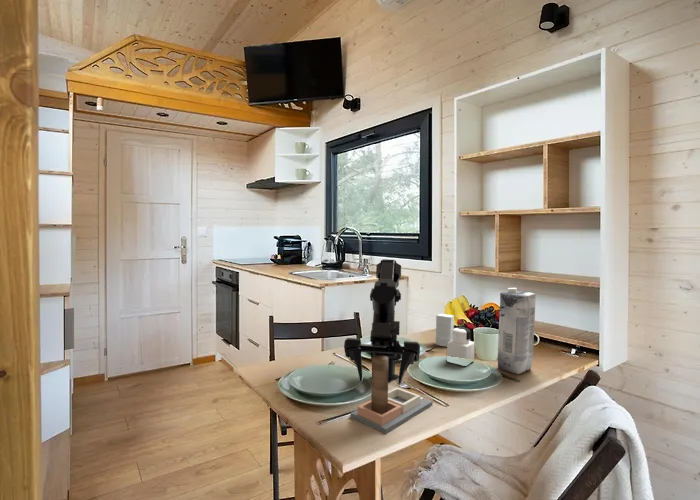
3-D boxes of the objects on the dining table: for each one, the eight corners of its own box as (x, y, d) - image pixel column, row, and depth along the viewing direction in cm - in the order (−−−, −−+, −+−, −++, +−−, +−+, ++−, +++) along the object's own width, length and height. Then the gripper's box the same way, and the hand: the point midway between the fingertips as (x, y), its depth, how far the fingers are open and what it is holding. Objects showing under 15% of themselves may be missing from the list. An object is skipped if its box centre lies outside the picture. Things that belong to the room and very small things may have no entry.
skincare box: (453, 345, 158) (454, 315, 157) (450, 347, 155) (451, 317, 154) (438, 342, 161) (439, 313, 161) (435, 344, 158) (436, 315, 157)
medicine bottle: (454, 357, 143) (456, 324, 142) (474, 362, 139) (475, 328, 138) (446, 362, 138) (447, 328, 137) (465, 367, 133) (467, 332, 132)
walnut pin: (373, 409, 99) (374, 354, 99) (389, 411, 98) (390, 356, 97) (369, 416, 96) (369, 359, 95) (385, 419, 94) (386, 361, 93)
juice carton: (535, 369, 132) (539, 289, 131) (518, 376, 126) (522, 292, 124) (510, 362, 139) (513, 285, 138) (493, 368, 133) (497, 288, 131)
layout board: (398, 392, 112) (398, 382, 112) (432, 405, 105) (432, 394, 104) (350, 417, 97) (350, 405, 97) (386, 433, 90) (386, 420, 90)
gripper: (345, 306, 100) (337, 364, 90) (420, 310, 98) (421, 370, 88) (349, 329, 109) (342, 384, 98) (418, 333, 106) (418, 390, 96)
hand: (379, 382), depth 95 cm, fingers open, 9 cm apart
